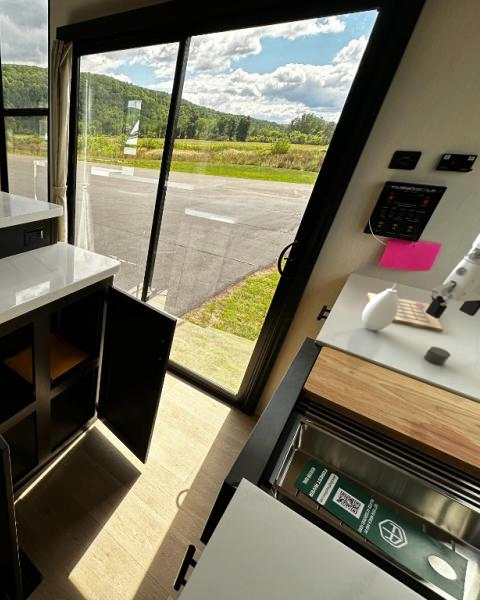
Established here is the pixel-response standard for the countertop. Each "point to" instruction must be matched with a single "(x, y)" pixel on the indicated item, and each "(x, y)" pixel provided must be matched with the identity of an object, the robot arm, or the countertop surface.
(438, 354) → the stone
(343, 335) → the countertop surface
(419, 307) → the board
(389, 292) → the white air blower bulb
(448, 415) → the countertop surface
